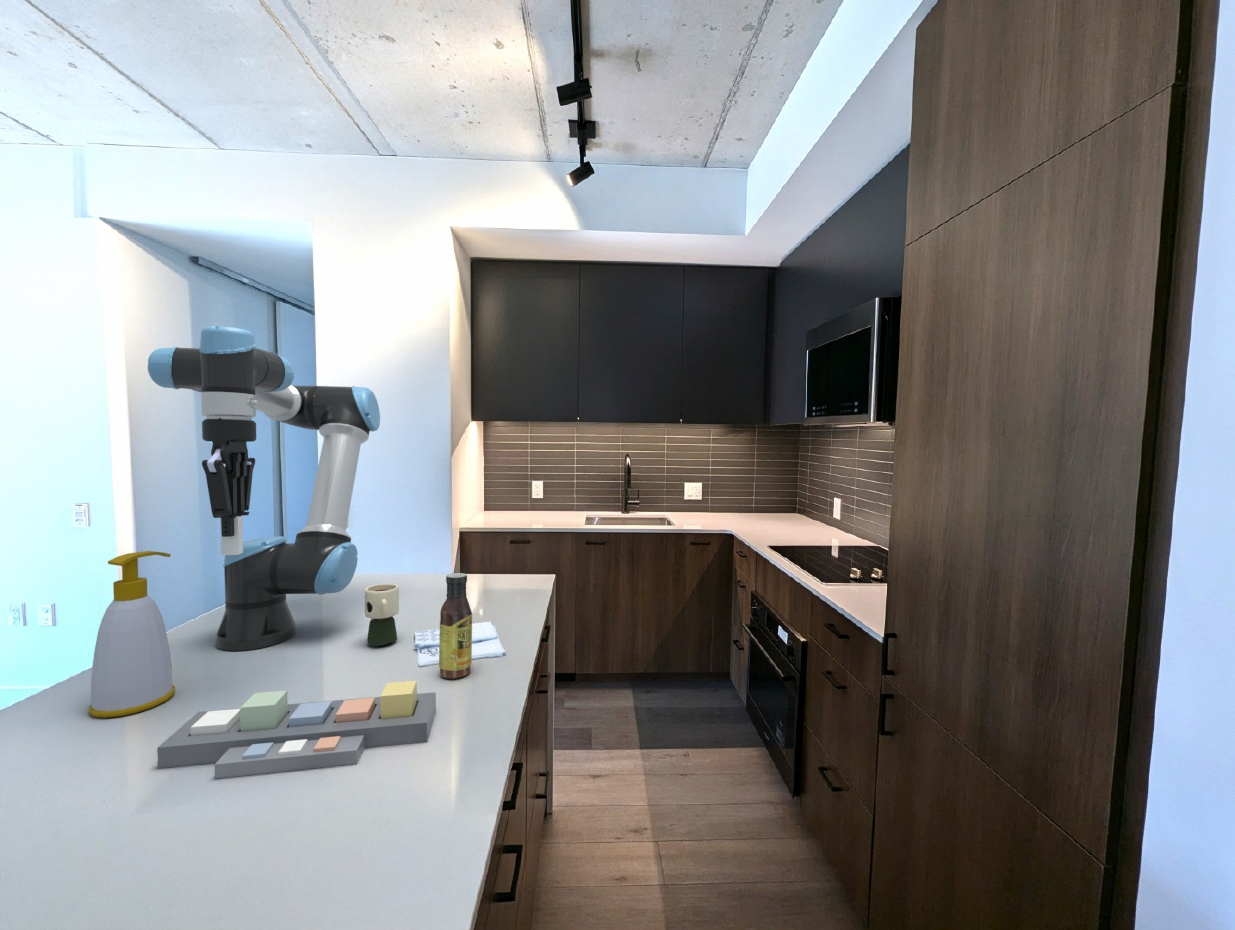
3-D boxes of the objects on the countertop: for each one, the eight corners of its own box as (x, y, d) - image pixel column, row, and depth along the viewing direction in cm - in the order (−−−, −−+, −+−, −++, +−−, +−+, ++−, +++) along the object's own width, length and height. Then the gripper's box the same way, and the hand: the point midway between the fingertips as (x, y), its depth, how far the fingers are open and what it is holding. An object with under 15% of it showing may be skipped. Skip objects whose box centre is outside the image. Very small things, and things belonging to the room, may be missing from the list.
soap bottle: (192, 693, 95) (189, 550, 94) (114, 725, 84) (109, 564, 83) (152, 683, 99) (148, 545, 98) (72, 712, 88) (67, 558, 87)
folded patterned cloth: (494, 628, 132) (494, 619, 132) (506, 659, 113) (506, 649, 113) (413, 637, 125) (413, 628, 125) (412, 671, 106) (412, 661, 106)
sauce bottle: (462, 682, 101) (462, 580, 100) (432, 678, 102) (432, 578, 101) (477, 667, 107) (477, 572, 106) (449, 664, 108) (449, 570, 108)
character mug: (363, 638, 122) (362, 583, 122) (396, 633, 126) (395, 579, 125) (366, 654, 113) (366, 595, 112) (402, 648, 117) (401, 591, 116)
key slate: (301, 728, 84) (300, 703, 84) (332, 725, 85) (331, 701, 84) (289, 744, 79) (288, 718, 79) (322, 741, 80) (321, 715, 80)
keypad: (199, 730, 83) (198, 711, 83) (435, 709, 91) (435, 692, 90) (138, 786, 69) (137, 764, 69) (422, 756, 77) (422, 736, 77)
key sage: (255, 717, 82) (254, 693, 82) (287, 715, 83) (287, 690, 83) (240, 733, 78) (240, 707, 78) (275, 730, 79) (274, 704, 79)
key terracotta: (344, 724, 85) (344, 700, 85) (375, 721, 86) (374, 697, 86) (335, 739, 81) (335, 714, 80) (367, 736, 81) (367, 711, 81)
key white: (208, 736, 81) (208, 711, 81) (242, 733, 82) (241, 708, 82) (191, 753, 77) (190, 727, 76) (226, 750, 78) (226, 724, 77)
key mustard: (387, 706, 86) (387, 682, 86) (416, 704, 87) (416, 680, 87) (380, 721, 82) (380, 696, 82) (411, 718, 83) (411, 693, 83)
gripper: (234, 417, 84) (237, 561, 85) (270, 420, 97) (272, 546, 98) (181, 416, 83) (184, 563, 84) (225, 419, 96) (227, 547, 97)
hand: (232, 553), depth 91 cm, fingers closed
